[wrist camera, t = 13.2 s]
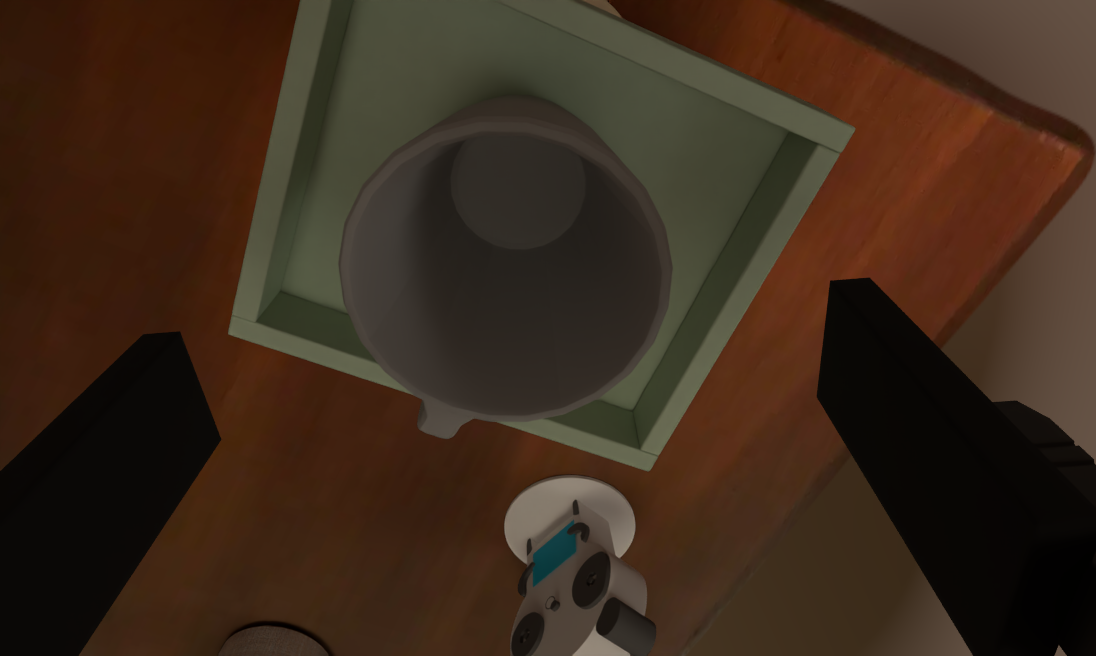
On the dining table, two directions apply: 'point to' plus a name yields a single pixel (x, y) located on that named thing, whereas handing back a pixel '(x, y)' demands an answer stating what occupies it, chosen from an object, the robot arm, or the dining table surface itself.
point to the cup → (505, 265)
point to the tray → (592, 96)
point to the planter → (271, 643)
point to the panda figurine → (576, 571)
